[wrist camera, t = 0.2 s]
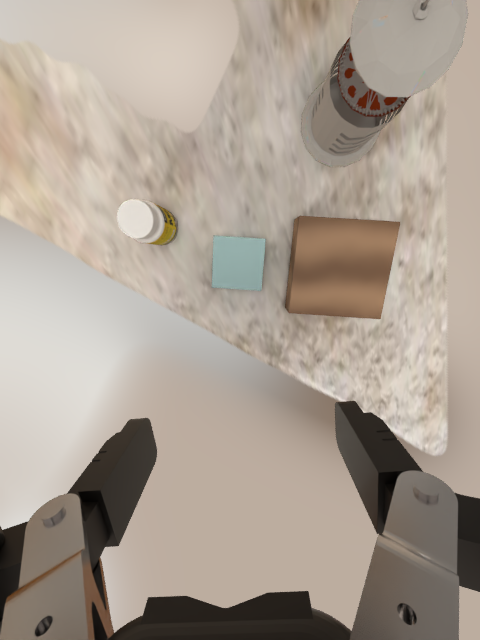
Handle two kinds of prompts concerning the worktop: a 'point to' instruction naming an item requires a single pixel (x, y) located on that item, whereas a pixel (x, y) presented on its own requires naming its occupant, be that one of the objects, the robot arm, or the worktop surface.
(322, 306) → the walnut block
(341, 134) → the french press
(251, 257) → the teal cube
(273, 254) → the worktop surface
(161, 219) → the supplement bottle
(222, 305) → the worktop surface
